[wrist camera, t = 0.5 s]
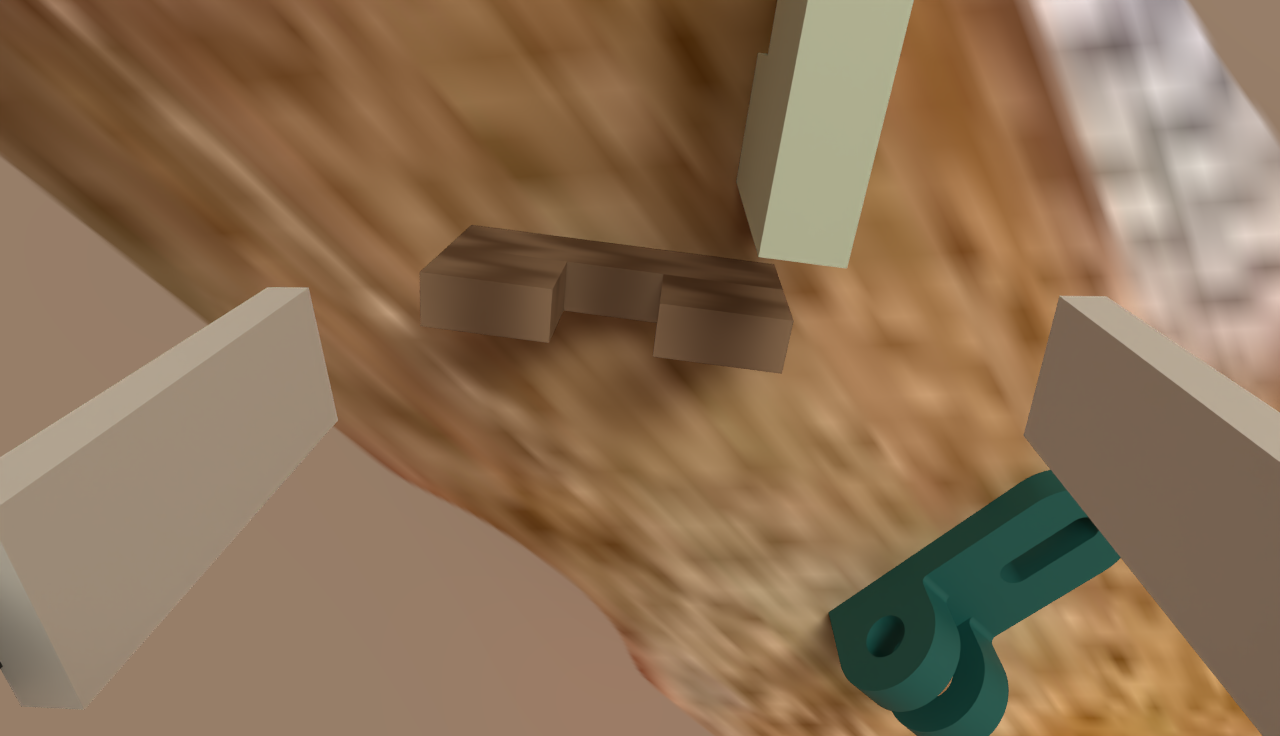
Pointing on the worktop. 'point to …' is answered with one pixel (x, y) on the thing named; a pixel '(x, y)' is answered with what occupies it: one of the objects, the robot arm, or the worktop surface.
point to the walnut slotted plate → (609, 294)
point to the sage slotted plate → (817, 124)
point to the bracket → (966, 608)
